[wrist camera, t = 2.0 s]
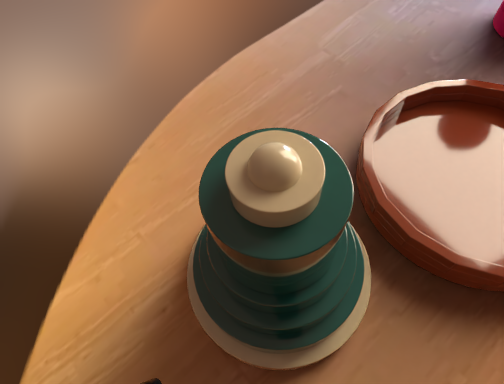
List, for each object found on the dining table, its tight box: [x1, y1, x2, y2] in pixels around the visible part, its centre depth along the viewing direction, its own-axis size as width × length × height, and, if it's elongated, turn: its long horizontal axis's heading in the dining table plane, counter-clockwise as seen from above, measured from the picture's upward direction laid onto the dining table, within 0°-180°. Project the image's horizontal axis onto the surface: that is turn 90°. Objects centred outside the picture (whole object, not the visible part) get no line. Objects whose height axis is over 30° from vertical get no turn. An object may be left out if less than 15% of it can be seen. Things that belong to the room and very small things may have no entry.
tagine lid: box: [187, 128, 371, 370], centre depth 17 cm, size 11×11×13 cm
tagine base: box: [356, 79, 504, 292], centre depth 24 cm, size 15×16×3 cm
